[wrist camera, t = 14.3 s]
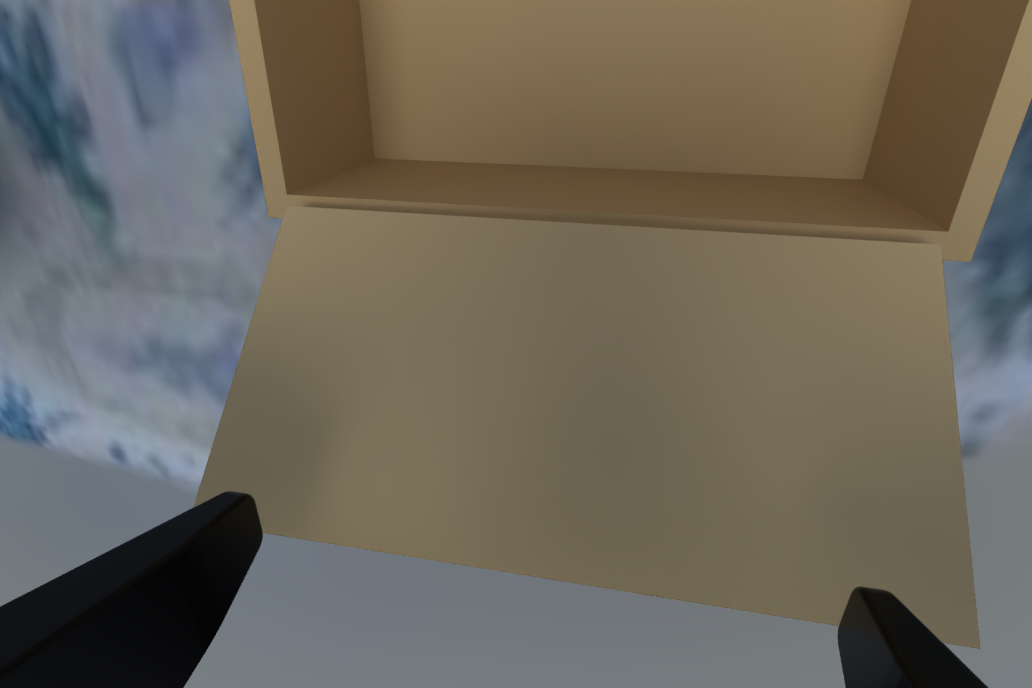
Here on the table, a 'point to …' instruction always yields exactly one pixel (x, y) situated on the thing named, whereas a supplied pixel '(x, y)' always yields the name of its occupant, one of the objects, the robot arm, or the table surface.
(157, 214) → the table surface
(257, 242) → the table surface
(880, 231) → the carton
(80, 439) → the table surface
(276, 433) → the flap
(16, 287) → the table surface
